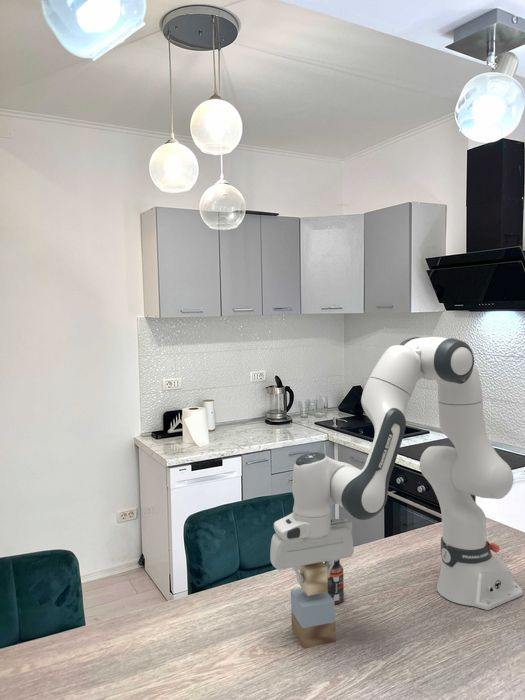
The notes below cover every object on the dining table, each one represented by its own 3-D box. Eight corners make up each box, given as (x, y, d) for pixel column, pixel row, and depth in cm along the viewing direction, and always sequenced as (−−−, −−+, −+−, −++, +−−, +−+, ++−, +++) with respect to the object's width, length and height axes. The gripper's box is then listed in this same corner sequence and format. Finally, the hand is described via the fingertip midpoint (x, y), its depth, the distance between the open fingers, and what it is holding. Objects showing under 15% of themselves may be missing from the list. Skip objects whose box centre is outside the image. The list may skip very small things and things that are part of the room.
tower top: (321, 604, 128) (321, 584, 127) (334, 622, 120) (334, 601, 120) (291, 609, 125) (290, 589, 125) (302, 628, 118) (302, 607, 118)
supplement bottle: (343, 606, 135) (342, 564, 134) (320, 604, 136) (319, 562, 136) (344, 594, 141) (343, 553, 140) (322, 592, 142) (321, 552, 142)
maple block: (319, 581, 125) (318, 557, 125) (327, 591, 121) (327, 566, 120) (299, 585, 124) (299, 561, 124) (307, 595, 119) (307, 570, 119)
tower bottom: (322, 623, 128) (321, 603, 128) (335, 642, 120) (335, 621, 120) (291, 629, 126) (291, 609, 125) (303, 649, 118) (303, 628, 118)
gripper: (345, 512, 128) (346, 566, 128) (267, 523, 121) (268, 580, 122) (358, 521, 122) (358, 578, 122) (275, 534, 115) (277, 594, 116)
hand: (313, 579), depth 122 cm, fingers closed on maple block, 5 cm apart
